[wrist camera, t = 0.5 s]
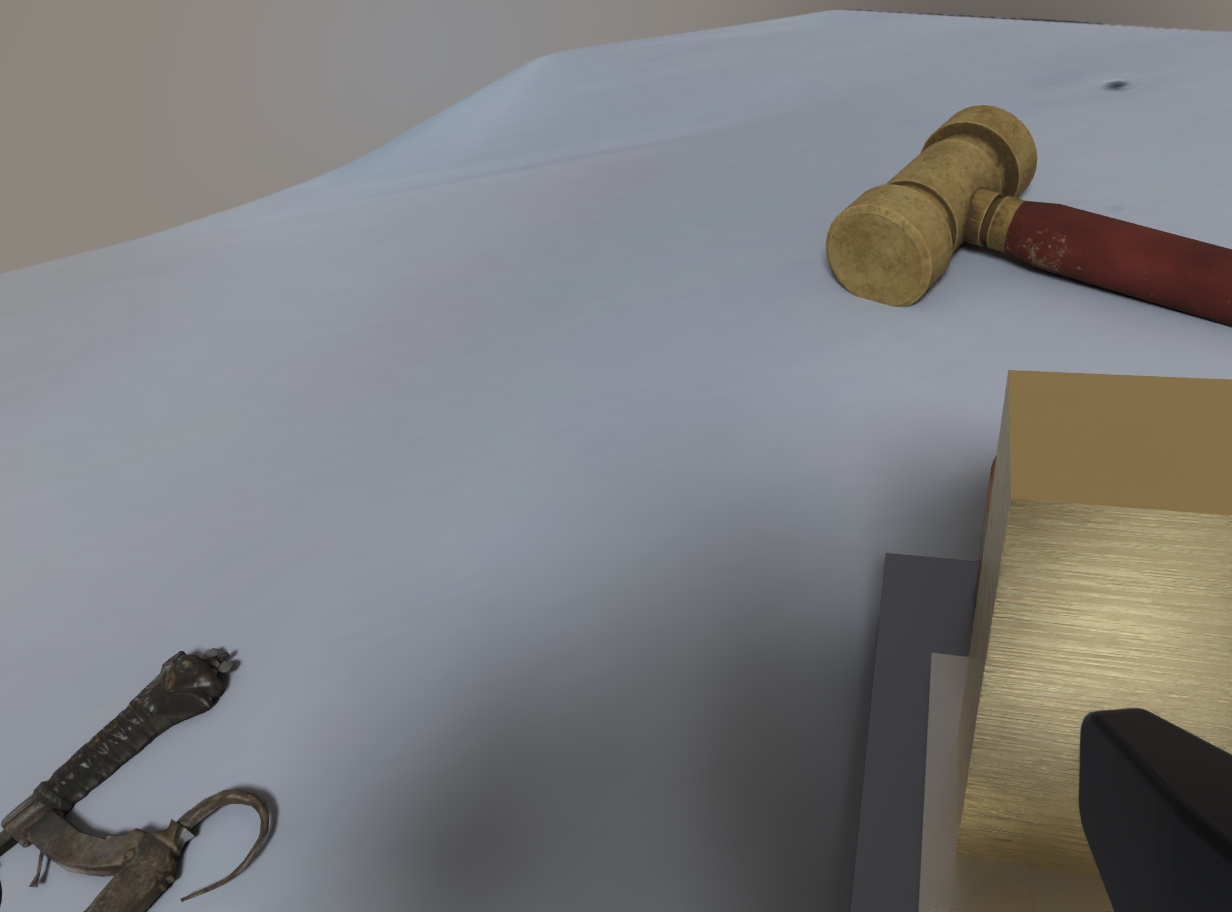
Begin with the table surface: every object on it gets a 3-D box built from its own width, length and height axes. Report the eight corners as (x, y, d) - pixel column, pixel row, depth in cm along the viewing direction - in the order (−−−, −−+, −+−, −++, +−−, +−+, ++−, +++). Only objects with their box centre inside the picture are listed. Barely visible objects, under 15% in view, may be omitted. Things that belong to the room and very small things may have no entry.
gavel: (1530, 222, 34) (1473, 382, 29) (1465, 333, 37) (1402, 495, 32) (946, 93, 45) (826, 193, 40) (932, 187, 48) (820, 291, 43)
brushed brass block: (1233, 900, 19) (1434, 531, 13) (955, 852, 21) (1011, 498, 14) (1208, 762, 21) (1371, 385, 15) (959, 727, 23) (1007, 370, 16)
